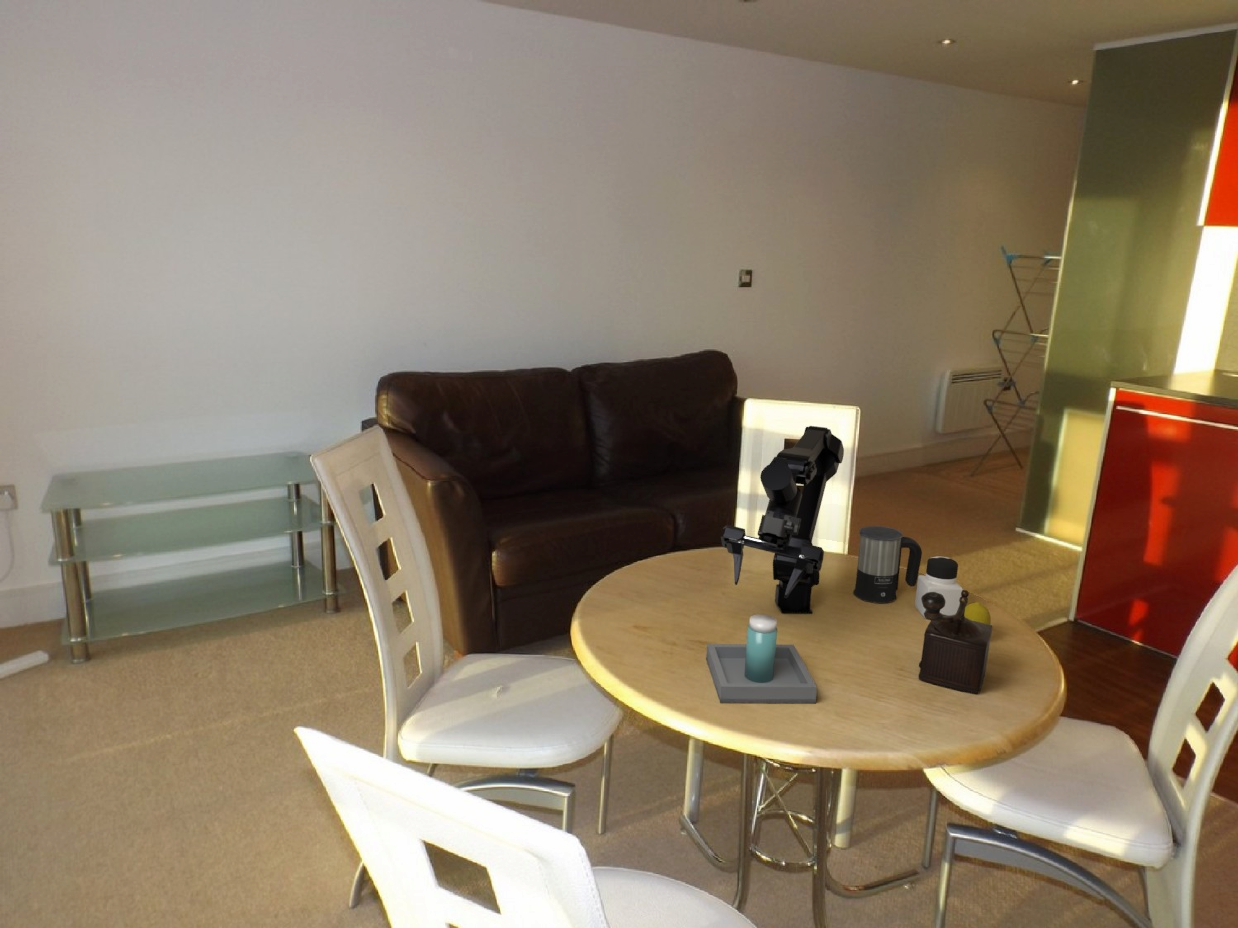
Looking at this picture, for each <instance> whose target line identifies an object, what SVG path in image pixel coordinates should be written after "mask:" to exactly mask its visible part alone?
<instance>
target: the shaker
mask: <svg viewBox="0 0 1238 928" xmlns="http://www.w3.org/2000/svg"><path fill="white" fill-rule="evenodd" d="M777 623H778V621H777V619H776V618H775V617H773V616H771V615H767V614H754V615H752V616H750V617H749V624H748V625H747V632H746V633H747V634H746V644H747V646H746V659H745V672H744V676H745V677H746V678H747V679H748V680H750V681H753V682H758V683H766V682H770V681H771V680H772V679H773V674H774V663H775V651H776V645H777V638H778V637H777V636H778V628H777V627H778V625H777Z"/></svg>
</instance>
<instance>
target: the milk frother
mask: <svg viewBox="0 0 1238 928" xmlns="http://www.w3.org/2000/svg"><path fill="white" fill-rule="evenodd" d="M858 534H859V535H860V536H859V546H858V557H857V569H856V577H855V578H856V579H855V583H854V584H855V586H854V589H853V592H852V593H853V595H854V596H855V597H856V598H858V599H860V600H861V601H865V602H868V603H874V604H889V603H893V602H895V601H897V598H898V596H897V590H898V589H899V580H900V579H899V578H900V571H901V570H900V568H901V557H902V550H903V549H906V548H907V549H909V553H908V559H907V565H906V573H905V583H906V584H907V586H909V587H915V586H917V583H918V576H919V572H920V568H921V567H920V566H921V560H922V554H923V552H922V551H923V550H922V548H921V546H920V545H919V543H918V542H917V541H916V540H914V538H912V537H908V536H904V533H902V532H901V531H900V530H898V529H895V528H892V527H887V526H882V525H871V526H869V525H868V526H864V527H860V529H859V533H858Z"/></svg>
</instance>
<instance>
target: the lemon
mask: <svg viewBox="0 0 1238 928" xmlns="http://www.w3.org/2000/svg"><path fill="white" fill-rule="evenodd" d="M964 616H965V618H968V619H969V620H971V621H976V622H980V623H984V624H988V625H992V624H991V622H992V621H991V620H992V619H991V613H990V611H989V610H988V608H987V607H986V606H985V605H984V604H982V603H981V602H980V601H976V602H972V603H968V604H967V605H966V607H965V613H964Z"/></svg>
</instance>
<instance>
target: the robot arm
mask: <svg viewBox="0 0 1238 928" xmlns="http://www.w3.org/2000/svg"><path fill="white" fill-rule="evenodd" d="M844 453H845V448H844V445H843V441H842V440H841V439H840V438H839V437H837V436H836V435H834V434H833V433H832V430H831V429H829V428H828V427H824V426H814V425H809V426H805V428H804V432H803V434H802V436H801V437H800V438H799V440H798V441H796V443H795V444H794V446H793V447H790V448H784V449H782V450H781V451H779V452H778V453H777V454H776V456H774V457H773V459H772V460H771V461H770V463H768V465H766V466H765V467H764V468H763V470H761V472H760V477H759V478H760V482H761V484H762V487H763V489H764V492H765V494H766V497H767V498H768V499H769V500H768V504H767V506H766V507H767V508H766V510H765V514H762V515H761V518H760V519H761V520H760V524H759V526H758V530H757V536H758V537H754V536H750V535H747V533H746V529H745V528H742V527H738V526H735V525H734V526H733V525H730V524H726V525H725V526H724V527H723V528H722V530H721V534H720V540H721V546H722V547H723V548H725V549H726V550H727V553H728V554H731V555H732V556H733V557H732V558H733V568H734V569H733V572H734V585H735V586H737V585H738V583H739V581H740V577H741V571H742V565H743V561H744V560H743V559H744V548H745V547H749V548H752V549H756V550H761V551H764V552H769V553H773V554H774V555H773V559H772V577H773V581H778V583H777V584H776V585H775V595H774V603H775V604H776V606H777V608H778V609H779V611H780V613H782V614H812V613H813V609H812V608H811V602H812V601H811V600H812V589H813V587H814V586H819V584H820V578H821V577H820V571H821V570H822V567H823V562H824V557H825V551H824V549H823V547H821V546H818V545H817V546H816V545H813V539H814V533H815V530H816V527H817V523H818V517H819V513H820V509H821V505H822V502H823V497H824V494H825V491H826V490H825V489H826V487H827V486H826V485H827V482H828V481H829V480H830V479H831V478H833V477H834V476H835V475H836V474H837V472H838V469H839V465H840V464H842V463H843V460H844V455H845V454H844ZM797 485H803V487H802V490H801V489H800V488H799V487H798V486H797Z"/></svg>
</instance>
